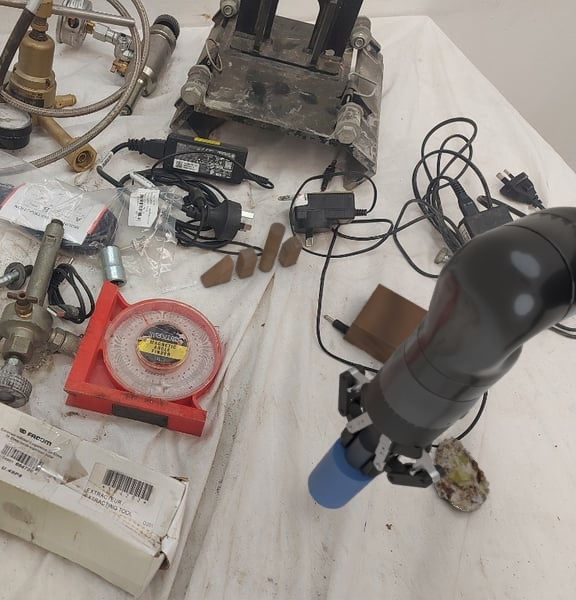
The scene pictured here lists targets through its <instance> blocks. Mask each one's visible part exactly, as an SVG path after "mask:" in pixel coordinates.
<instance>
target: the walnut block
mask: <svg viewBox="0 0 576 600" xmlns="http://www.w3.org/2000/svg"><path fill="white" fill-rule="evenodd" d="M427 313H428V310H427V309H425V308H423V307H421V306H420V305H418V304H417V303H415V302H413V301H411V300H410V299H408V298H406V297H405V296H402V295H401V294H399V293H397V292H395V291H394V290H392V289H391V288H388V287H387V286H385V285H383V284H382V283H378V284H377V286H376V288H375V289H374V290H373V292H372V293H371V294H370V296H369V298H368V299H367V300H366V302H365V303H364V305H363V306H362V308H361V310H359V313H358V314H357V315H356V317H355V319H354V320H353V321H352V323H351V324H350V326H349V328H348V330H347V331H346V333H345V335H344V336H343V340H344V341H346V342H348V343H349V344H350V345H353V346H354V347H356V348H357V349H359V350H361V351H363V352H364V353H366V354H367V355H369V356H371V357H372V358H374V359H375V360H377V361H379V363H381V364H382V365H384V363H385V362H386V361H387V360H388V358H389V357H390V356H391V354H392V353H393V352H394V350H395V349H396V348H397V347H398V346H399V345H400V344H401V343H402V342H403V341H404V340H406V339H407V338H408V337H409V336H410V335H411V334H412V332H413V331H414V330H415V328H416V327H417V326H418V324H419V323H420V322H421V321H422V319H423V318H424V317H425V316H426V314H427Z"/></svg>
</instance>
